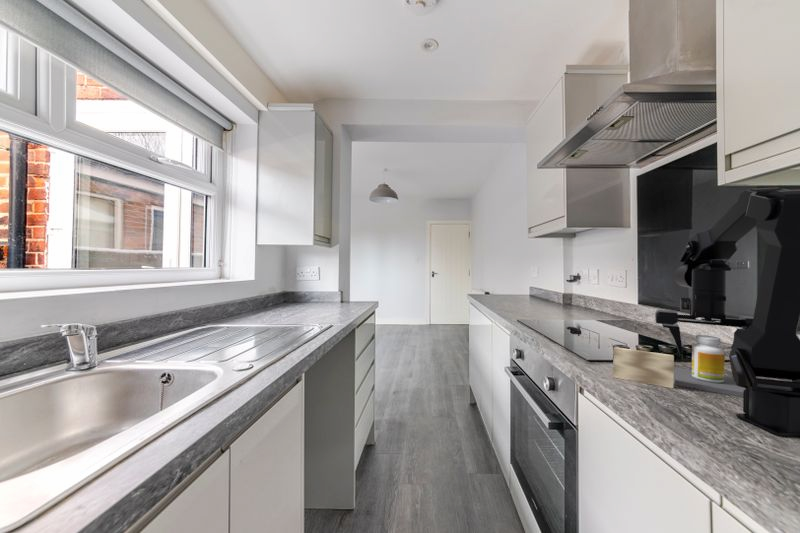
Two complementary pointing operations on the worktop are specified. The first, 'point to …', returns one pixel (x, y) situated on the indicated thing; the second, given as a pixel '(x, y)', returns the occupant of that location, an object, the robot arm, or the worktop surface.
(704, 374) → the supplement bottle
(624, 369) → the birch screen
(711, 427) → the worktop surface
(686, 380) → the charcoal mat
